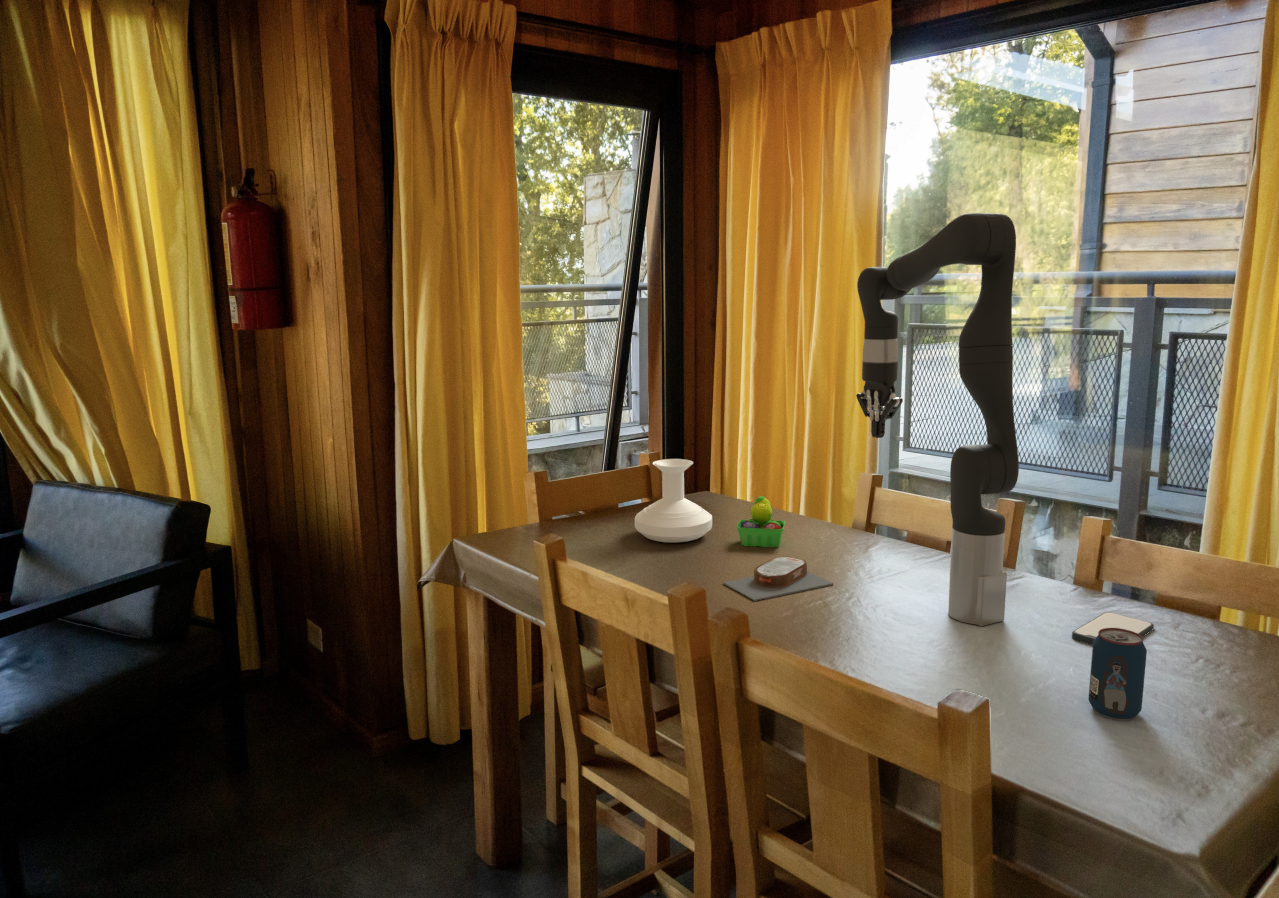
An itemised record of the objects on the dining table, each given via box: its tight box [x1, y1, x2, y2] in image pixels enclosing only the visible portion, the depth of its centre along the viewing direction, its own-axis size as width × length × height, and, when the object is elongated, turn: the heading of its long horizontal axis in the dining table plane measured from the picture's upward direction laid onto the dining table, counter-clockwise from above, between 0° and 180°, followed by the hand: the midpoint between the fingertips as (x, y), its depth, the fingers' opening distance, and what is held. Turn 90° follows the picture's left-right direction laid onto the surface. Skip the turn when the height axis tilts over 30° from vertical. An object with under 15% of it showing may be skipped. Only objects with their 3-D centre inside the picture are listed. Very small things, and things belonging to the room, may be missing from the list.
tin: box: [753, 555, 808, 588], centre depth 190 cm, size 15×3×8 cm
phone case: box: [1071, 611, 1155, 645], centre depth 158 cm, size 9×2×16 cm
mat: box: [722, 570, 834, 602], centre depth 186 cm, size 12×20×1 cm, turn 116°
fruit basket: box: [736, 496, 786, 548], centre depth 215 cm, size 11×9×11 cm
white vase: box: [634, 458, 713, 543], centre depth 222 cm, size 20×20×19 cm
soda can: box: [1088, 628, 1148, 722], centre depth 128 cm, size 7×7×12 cm
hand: (877, 437), depth 195 cm, fingers closed
